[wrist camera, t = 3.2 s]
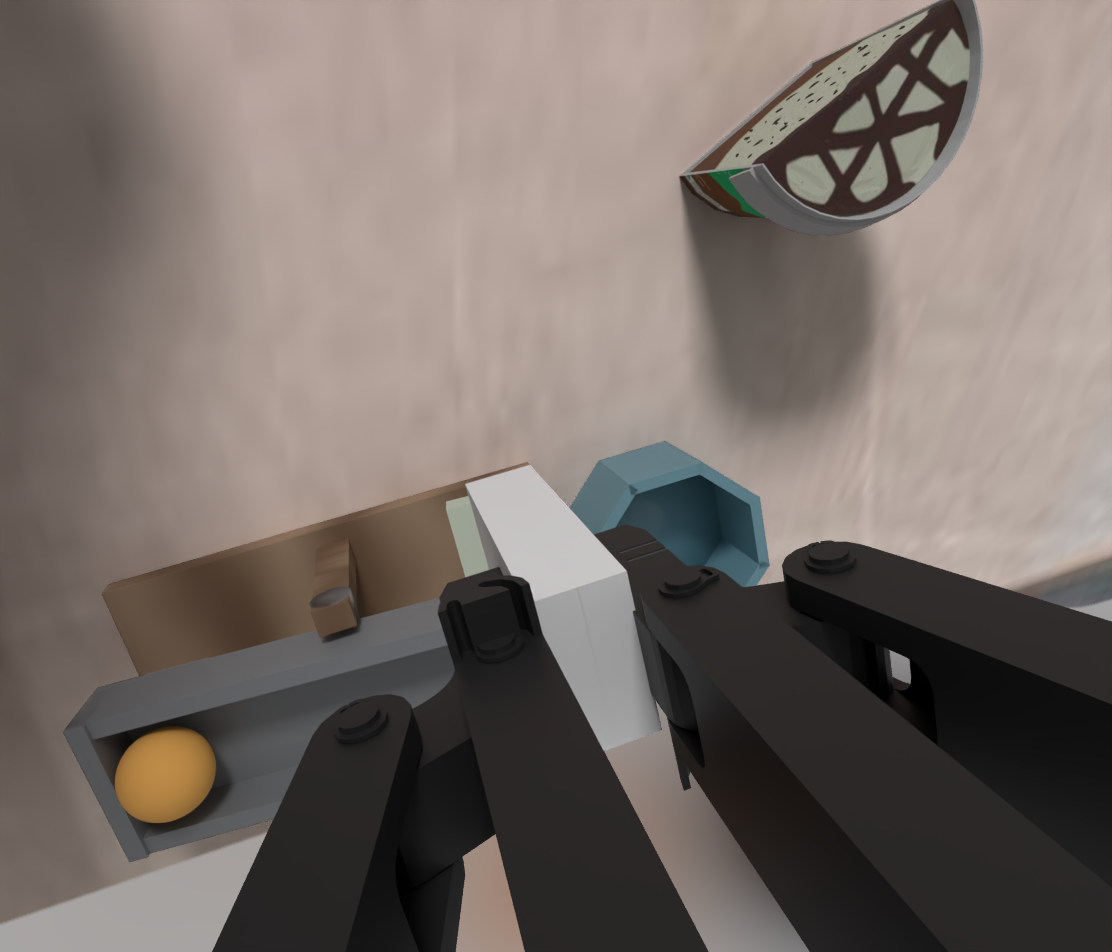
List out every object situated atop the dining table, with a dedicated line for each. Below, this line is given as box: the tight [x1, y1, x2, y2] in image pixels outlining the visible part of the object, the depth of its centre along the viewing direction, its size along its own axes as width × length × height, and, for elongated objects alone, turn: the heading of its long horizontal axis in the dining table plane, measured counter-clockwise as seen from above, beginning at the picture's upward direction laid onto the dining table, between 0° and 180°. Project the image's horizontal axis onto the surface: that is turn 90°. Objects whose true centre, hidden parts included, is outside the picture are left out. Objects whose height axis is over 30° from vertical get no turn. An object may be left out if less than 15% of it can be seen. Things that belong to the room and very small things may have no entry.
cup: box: [570, 441, 769, 587], centre depth 43 cm, size 10×10×5 cm
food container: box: [680, 0, 983, 236], centre depth 37 cm, size 12×6×10 cm, turn 128°
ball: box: [115, 726, 216, 823], centre depth 32 cm, size 4×4×4 cm
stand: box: [102, 462, 530, 676], centre depth 38 cm, size 22×12×9 cm, turn 103°
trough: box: [63, 496, 489, 862], centre depth 34 cm, size 22×12×5 cm, turn 103°
